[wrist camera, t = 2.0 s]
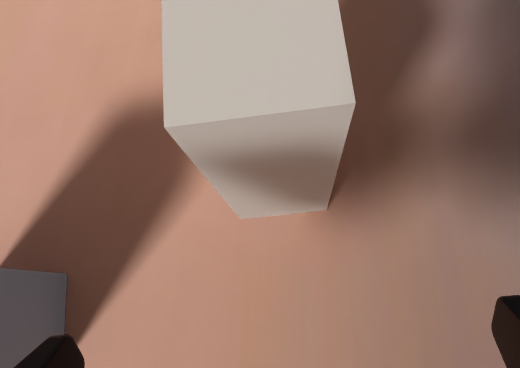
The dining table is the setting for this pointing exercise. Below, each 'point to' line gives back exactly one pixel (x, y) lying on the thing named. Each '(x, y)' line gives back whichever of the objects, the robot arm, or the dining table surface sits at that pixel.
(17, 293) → the slate-blue block
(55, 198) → the dining table surface
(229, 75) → the cream block
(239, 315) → the dining table surface
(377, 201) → the dining table surface
